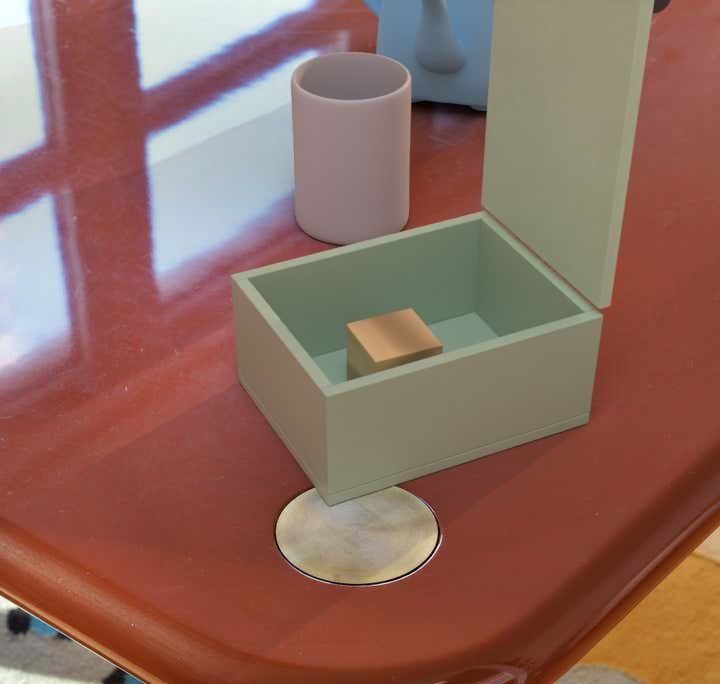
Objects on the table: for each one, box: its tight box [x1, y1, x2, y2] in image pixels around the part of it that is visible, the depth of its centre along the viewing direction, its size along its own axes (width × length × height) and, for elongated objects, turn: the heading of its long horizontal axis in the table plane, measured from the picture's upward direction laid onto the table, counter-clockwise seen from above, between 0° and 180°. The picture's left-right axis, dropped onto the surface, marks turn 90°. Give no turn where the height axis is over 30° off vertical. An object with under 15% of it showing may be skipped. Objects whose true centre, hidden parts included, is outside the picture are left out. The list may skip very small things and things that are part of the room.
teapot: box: [361, 0, 494, 112], centre depth 114 cm, size 18×16×14 cm
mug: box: [290, 51, 412, 246], centre depth 99 cm, size 12×8×11 cm
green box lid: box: [480, 0, 672, 310], centre depth 77 cm, size 18×14×5 cm
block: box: [346, 308, 443, 381], centre depth 83 cm, size 4×4×4 cm
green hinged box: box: [230, 210, 604, 507], centre depth 82 cm, size 18×14×8 cm
